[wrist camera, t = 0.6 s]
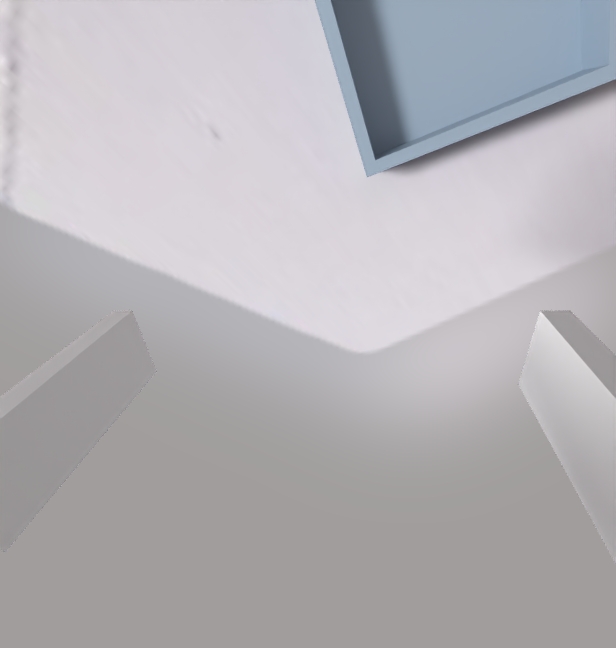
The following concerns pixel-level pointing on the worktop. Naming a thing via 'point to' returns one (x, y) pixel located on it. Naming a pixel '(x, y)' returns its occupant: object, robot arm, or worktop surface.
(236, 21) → the worktop surface
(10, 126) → the worktop surface
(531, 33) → the bin
